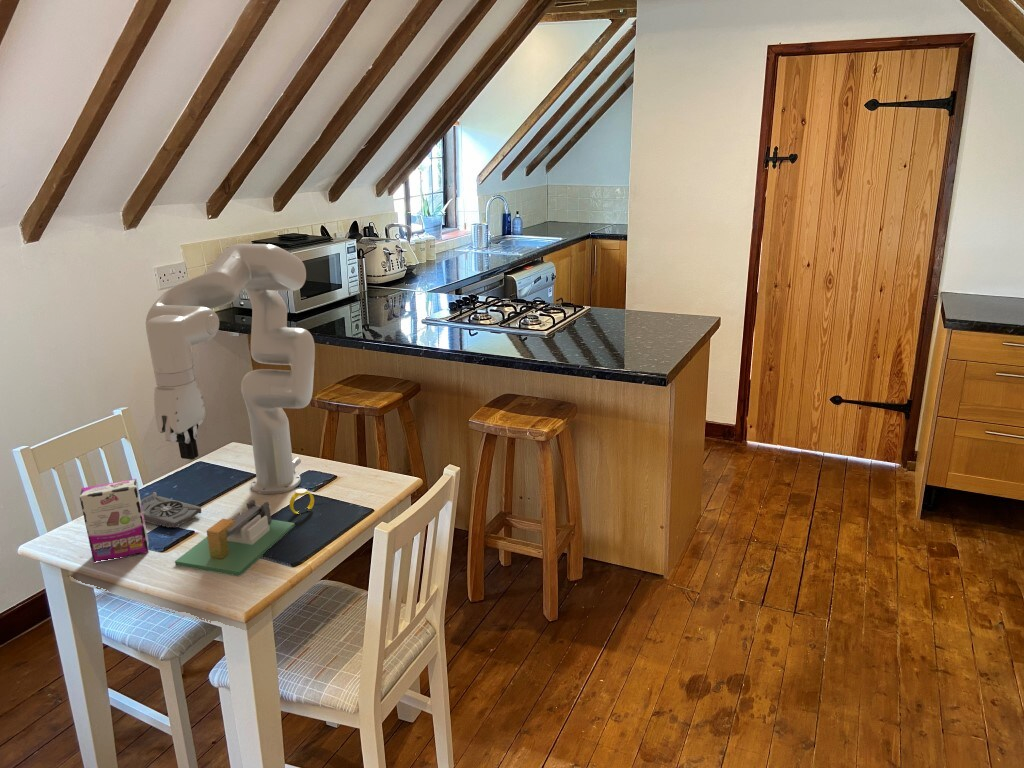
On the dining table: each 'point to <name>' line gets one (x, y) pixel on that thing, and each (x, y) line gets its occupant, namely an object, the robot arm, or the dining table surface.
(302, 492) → the watch
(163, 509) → the graphics card
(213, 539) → the block
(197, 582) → the dining table surface
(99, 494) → the candy bar box
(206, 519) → the dining table surface
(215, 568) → the board
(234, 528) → the grey long bar
